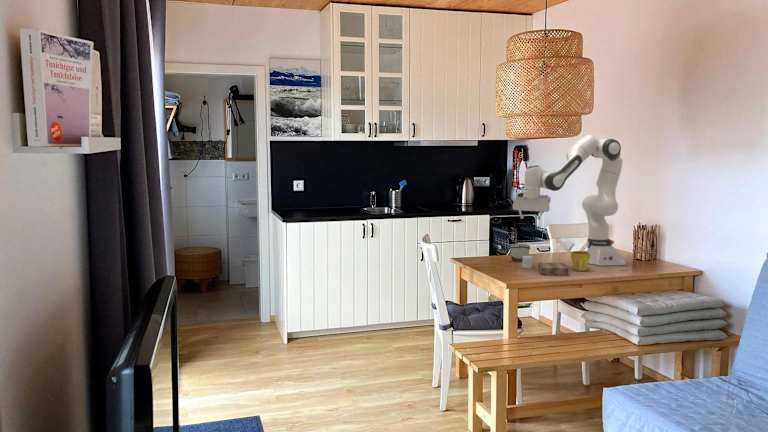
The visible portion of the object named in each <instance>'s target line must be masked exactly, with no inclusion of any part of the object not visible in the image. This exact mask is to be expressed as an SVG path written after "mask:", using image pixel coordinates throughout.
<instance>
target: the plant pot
mask: <svg viewBox="0 0 768 432" xmlns="http://www.w3.org/2000/svg"><path fill="white" fill-rule="evenodd" d="M570 259H571V260H572V266H573V270H574V271H577V272H587V269H588V265H589V263H588V262H589V259H590V252H587V251H585V250H584V251H583V250H575V251H573V250H572V251H571V252H570Z"/></svg>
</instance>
